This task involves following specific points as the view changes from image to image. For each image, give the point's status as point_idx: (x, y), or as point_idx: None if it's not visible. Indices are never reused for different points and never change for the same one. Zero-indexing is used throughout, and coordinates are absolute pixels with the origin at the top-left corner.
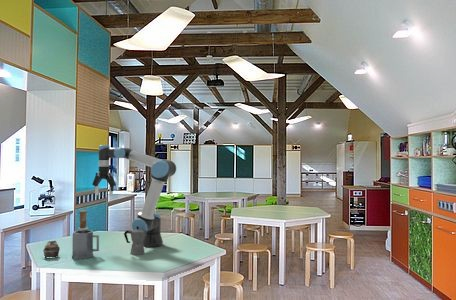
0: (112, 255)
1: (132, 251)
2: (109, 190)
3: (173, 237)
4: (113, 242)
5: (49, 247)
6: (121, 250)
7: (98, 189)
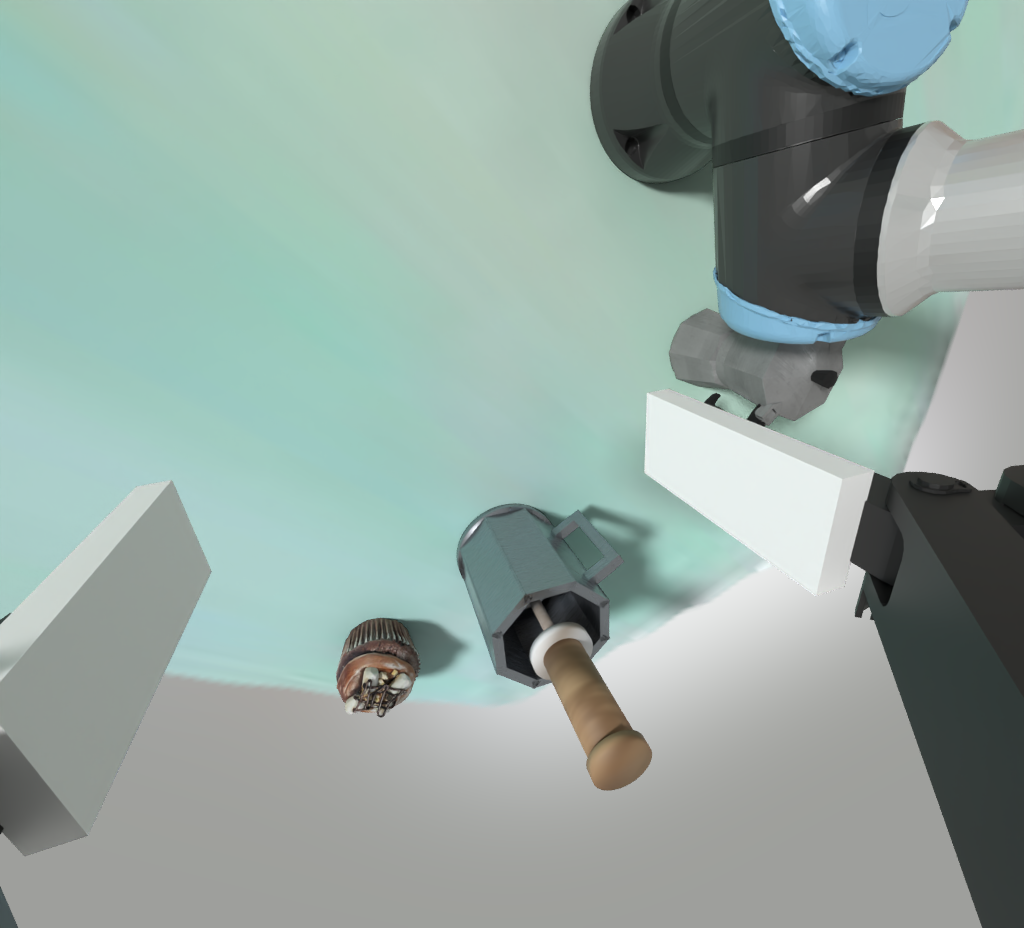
0: (614, 449)
1: (702, 385)
2: (730, 529)
3: None
4: (320, 173)
5: (404, 699)
6: (580, 346)
7: (90, 583)
